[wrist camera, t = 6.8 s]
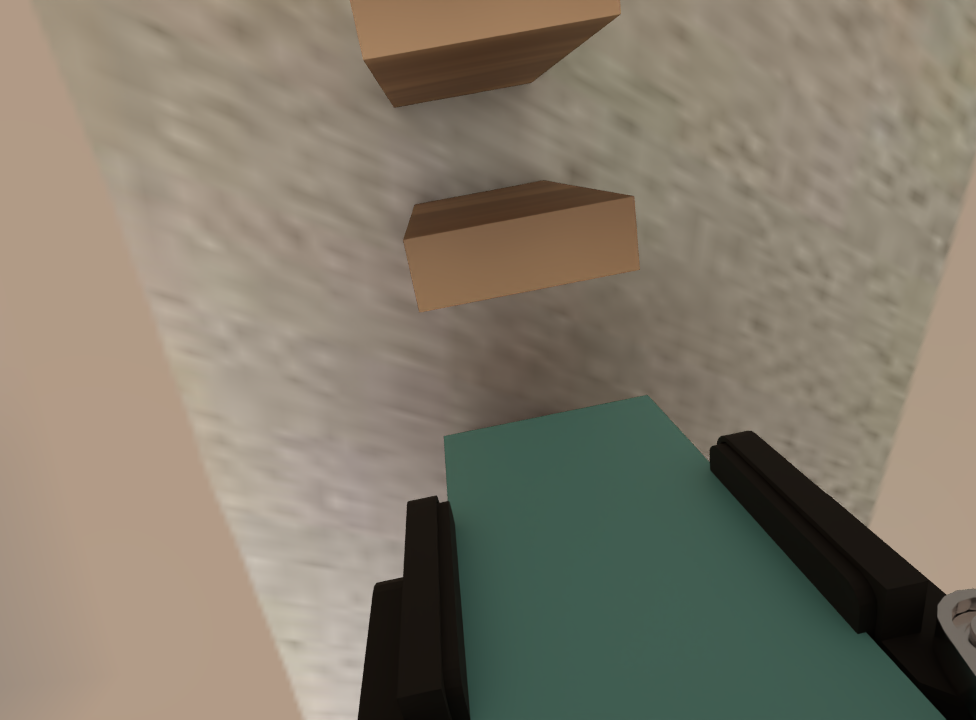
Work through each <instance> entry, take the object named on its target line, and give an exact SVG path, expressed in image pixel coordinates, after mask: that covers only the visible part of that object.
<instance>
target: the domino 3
mask: <svg viewBox="0 0 976 720" xmlns="http://www.w3.org/2000/svg"><path fill="white" fill-rule="evenodd" d="M444 448H445V464H446V480H447V496H448V501H449V502H450V505H451V509H452V513H453V517H454V522H455V530H456V543H457V555H458V568H459V581H460V593H461V606H462V619H463V631H464V644H465V657H466V669H467V682H468V695H469V707H470V720H946V719H945V718H944V716H943V715H942V714H941V713H940V712H939V711H938V710H937V709H936V708H935V707H934V706H933V705H932V703H931V702H930V701H929V700H928V699H927V698H926V697H925V696H924V695H923V694H922V693H921V691H920V690H919V689H918V688H917V687H916V686H915V685H914V684H913V683H912V682H911V681H910V680H909V678H908V677H907V676H906V675H905V674H904V673H903V672H902V671H901V670H900V669H899V668H898V666H897V665H896V664H895V663H894V662H893V661H892V660H891V659H890V658H889V657H888V656H887V655H886V653H885V652H884V651H883V650H882V649H881V648H880V647H879V646H878V645H877V644H876V643H875V641H874V640H873V639H872V638H871V637H870V636H869V635H868V634H867V633H861V634H857V633H856V632H855V631H854V630H853V629H852V627H851V626H850V625H849V624H848V623H847V622H846V621H845V620H844V619H843V617H842V616H841V615H840V614H839V613H838V612H837V611H836V610H835V609H834V607H833V606H832V605H831V604H830V603H829V602H828V601H827V600H826V599H825V597H824V596H823V595H822V594H821V593H820V592H819V591H818V590H817V589H816V587H815V586H814V585H813V584H812V583H811V582H810V581H809V580H808V579H807V577H806V576H805V575H804V574H803V573H802V572H801V571H800V570H799V568H798V567H797V566H796V565H795V564H794V563H793V562H792V561H791V560H790V558H789V557H788V556H787V555H786V554H785V553H784V552H783V551H782V550H781V548H780V547H779V546H778V545H777V544H776V543H775V542H774V541H773V540H772V538H771V537H770V536H769V535H768V534H767V533H766V532H765V531H764V530H763V528H762V527H761V526H760V525H759V524H758V523H757V522H756V521H755V520H754V518H753V517H752V516H751V515H750V514H749V513H748V512H747V511H746V510H745V508H744V507H743V506H742V505H741V504H740V503H739V502H738V501H737V499H736V498H735V497H734V496H733V495H732V494H731V493H730V492H729V491H728V489H727V488H726V487H725V486H724V485H723V484H722V483H721V482H720V481H719V479H718V478H717V477H716V476H715V475H714V474H713V473H712V472H711V471H710V462H709V461H708V460H707V459H706V458H705V457H704V456H703V455H702V453H701V452H700V451H699V450H698V449H697V448H696V447H695V446H694V445H693V444H692V443H691V442H690V440H689V439H688V438H687V437H686V436H685V435H684V434H683V433H682V432H681V431H680V430H679V428H678V427H677V426H676V425H675V424H674V423H673V422H672V421H671V420H670V419H669V418H668V417H667V415H666V414H665V413H664V412H663V411H662V410H661V409H660V408H659V407H658V406H657V405H656V403H655V402H654V401H653V400H652V399H651V398H650V397H649V396H648V395H645V396H640V397H635V398H630V399H625V400H620V401H615V402H610V403H605V404H600V405H595V406H591V407H586V408H581V409H576V410H571V411H566V412H561V413H556V414H551V415H546V416H541V417H536V418H531V419H526V420H522V421H517V422H512V423H507V424H502V425H497V426H492V427H487V428H482V429H477V430H472V431H467V432H462V433H457V434H452V435H448V436H444Z"/></svg>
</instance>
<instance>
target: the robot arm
mask: <svg viewBox="0 0 976 720" xmlns="http://www.w3.org/2000/svg"><path fill="white" fill-rule="evenodd" d="M710 471H711V472H712V473H713V474H714V475H715V476H716V477H717V478H718V479H719V481H720V482H721V483H722V484H723V485H724V486H725V487H726V488H727V489H728V491H729V492H730V493H731V494H732V495H733V496H734V497H735V498H736V499H737V501H738V502H739V503H740V504H741V505H742V506H743V507H744V508H745V510H746V511H747V512H748V513H749V514H750V515H751V516H752V517H753V518H754V520H755V521H756V522H757V523H758V524H759V525H760V526H761V527H762V528H763V530H764V531H765V532H766V533H767V534H768V535H769V536H770V537H771V538H772V540H773V541H774V542H775V543H776V544H777V545H778V546H779V547H780V548H781V550H782V551H783V552H784V553H785V554H786V555H787V556H788V557H789V558H790V560H791V561H792V562H793V563H794V564H795V565H796V566H797V567H798V568H799V570H800V571H801V572H802V573H803V574H804V575H805V576H806V577H807V579H808V580H809V581H810V582H811V583H812V584H813V585H814V586H815V587H816V589H817V590H818V591H819V592H820V593H821V594H822V595H823V596H824V597H825V599H826V600H827V601H828V602H829V603H830V604H831V605H832V606H833V607H834V609H835V610H836V611H837V612H838V613H839V614H840V615H841V616H842V617H843V619H844V620H845V621H846V622H847V623H848V624H849V625H850V626H851V627H852V629H853V630H854V631H855V632H856V633H857V634H861V633H867V634H868V635H869V636H870V637H871V638H872V639H873V640H874V641H875V643H876V644H877V645H878V646H879V647H880V648H881V649H882V650H883V651H884V652H885V653H886V655H887V656H888V657H889V658H890V659H891V660H892V661H893V662H894V663H895V664H896V665H897V666H898V668H899V669H900V670H901V671H902V672H903V673H904V674H905V675H906V676H907V677H908V678H909V680H910V681H911V682H912V683H913V684H914V685H915V686H916V687H917V688H918V689H919V690H920V691H921V693H922V694H923V695H924V696H925V697H926V698H927V699H928V700H929V701H930V702H931V703H932V705H933V706H934V707H935V708H936V709H937V710H938V711H939V712H940V713H941V714H942V715H943V716H944V718H945V719H946V720H976V589H967V590H957V591H955V592H953V593H950V594H948V595H946V594H945V593H944V592H943V591H941V590H940V589H939V588H938V587H937V586H936V585H934V584H933V583H932V582H931V581H930V580H928V579H927V578H926V577H925V576H924V575H923V574H921V573H920V572H919V571H918V570H917V569H915V568H914V567H913V566H912V565H911V564H909V563H908V562H907V561H906V560H905V559H904V558H903V557H901V556H900V555H899V554H898V553H897V552H895V551H894V550H893V549H892V548H891V547H890V546H888V545H887V544H886V543H885V542H883V540H881V539H880V538H879V537H878V536H877V535H875V534H874V533H873V532H872V531H871V530H870V529H868V528H867V527H866V526H865V525H864V524H862V523H861V522H860V521H859V520H858V519H857V518H855V517H854V516H853V515H852V514H851V513H849V512H848V511H847V510H846V509H845V508H844V507H842V506H841V505H840V504H839V503H838V502H837V501H835V500H834V499H833V498H832V497H831V496H829V495H828V494H826V493H825V492H824V491H823V490H821V489H820V488H819V487H818V486H817V485H815V484H814V483H813V482H812V481H811V480H810V479H808V478H807V477H806V476H805V475H804V474H803V473H801V472H800V471H799V470H798V469H797V468H795V467H794V466H793V465H792V464H791V463H790V462H788V461H787V460H786V459H785V458H784V457H783V456H781V455H780V454H779V453H778V452H777V451H775V450H774V449H773V448H772V447H771V446H770V445H768V444H767V443H766V442H765V441H764V440H763V439H761V438H760V437H759V436H758V435H757V434H755V433H754V432H752V431H744V432H739V433H734V434H730V435H725V436H721V437H720V438H719V439H718V441H717V445H715V446H712V447H711V448H710ZM358 720H470V707H469V695H468V682H467V669H466V657H465V644H464V631H463V619H462V606H461V593H460V581H459V568H458V555H457V543H456V530H455V522H454V517H453V513H452V509H451V505H450V502H449V501H446V502H441V503H439V500H438V497H437V496H432V497H427V498H422V499H417V500H412V501H408V502H407V516H406V535H405V554H404V572H403V577H402V578H397V579H392V580H388V581H383V582H378V583H376V584H375V586H374V590H373V596H372V605H371V613H370V621H369V630H368V638H367V646H366V654H365V663H364V671H363V679H362V688H361V696H360V704H359V713H358Z"/></svg>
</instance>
